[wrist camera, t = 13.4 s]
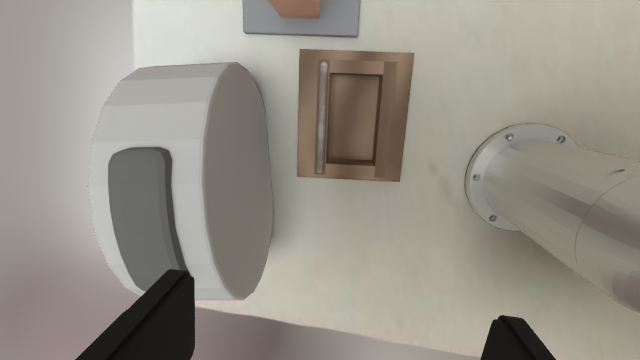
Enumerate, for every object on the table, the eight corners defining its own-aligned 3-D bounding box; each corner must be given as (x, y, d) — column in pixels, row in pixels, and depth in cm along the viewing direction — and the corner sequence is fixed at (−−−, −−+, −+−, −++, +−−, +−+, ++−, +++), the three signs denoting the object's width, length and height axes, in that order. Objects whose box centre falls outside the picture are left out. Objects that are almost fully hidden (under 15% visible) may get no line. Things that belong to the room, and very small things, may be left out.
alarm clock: (196, 72, 35) (31, 47, 16) (261, 69, 35) (169, 40, 16) (220, 243, 41) (118, 374, 22) (276, 242, 40) (222, 375, 21)
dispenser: (411, 54, 34) (423, 48, 29) (398, 179, 37) (406, 191, 33) (300, 50, 34) (295, 43, 30) (298, 174, 38) (292, 185, 33)
